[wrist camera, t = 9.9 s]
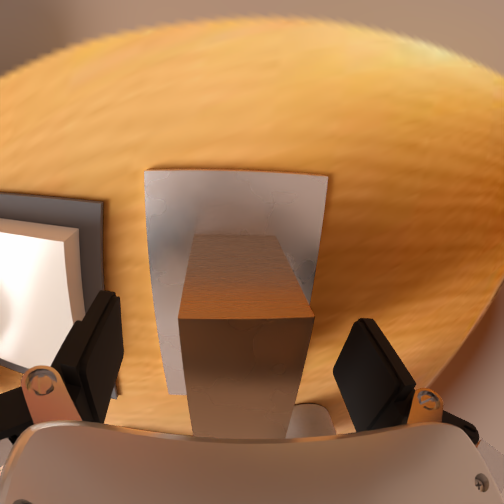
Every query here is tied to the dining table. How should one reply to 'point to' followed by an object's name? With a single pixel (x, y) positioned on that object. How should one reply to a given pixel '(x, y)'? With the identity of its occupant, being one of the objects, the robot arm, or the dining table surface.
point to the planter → (310, 422)
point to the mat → (67, 215)
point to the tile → (38, 290)
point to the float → (234, 291)
